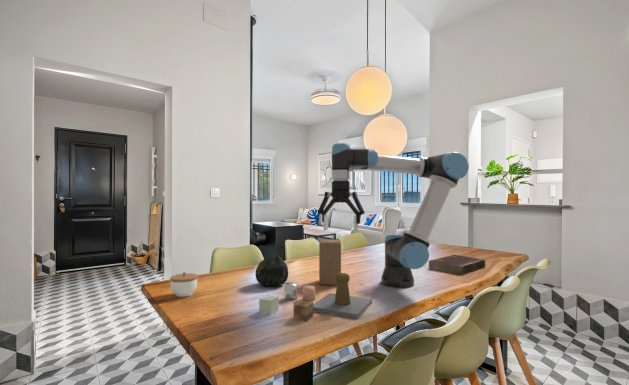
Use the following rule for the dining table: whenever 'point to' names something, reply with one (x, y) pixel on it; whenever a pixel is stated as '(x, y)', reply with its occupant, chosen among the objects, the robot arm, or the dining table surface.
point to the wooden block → (329, 261)
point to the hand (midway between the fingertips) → (340, 230)
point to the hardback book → (456, 264)
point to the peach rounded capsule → (308, 293)
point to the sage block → (268, 304)
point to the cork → (342, 289)
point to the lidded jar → (184, 284)
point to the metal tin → (291, 291)
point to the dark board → (350, 311)
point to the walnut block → (303, 310)
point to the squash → (272, 271)
